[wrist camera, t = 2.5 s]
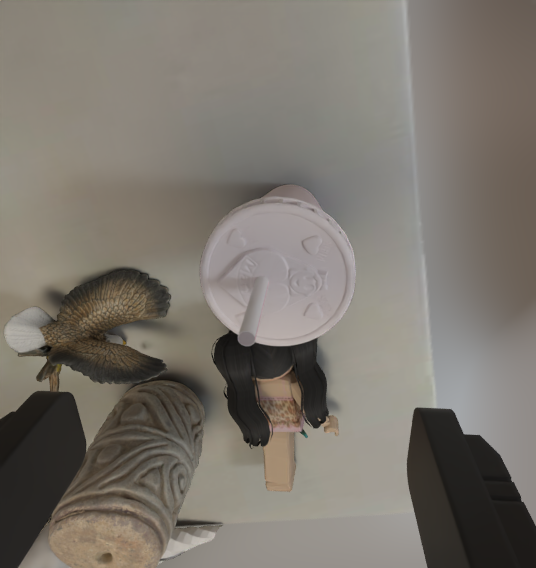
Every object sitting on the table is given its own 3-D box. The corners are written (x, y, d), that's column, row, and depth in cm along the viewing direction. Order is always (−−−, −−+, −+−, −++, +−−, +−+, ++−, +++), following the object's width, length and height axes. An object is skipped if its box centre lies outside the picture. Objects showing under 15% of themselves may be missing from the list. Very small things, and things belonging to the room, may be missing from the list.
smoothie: (232, 163, 25) (145, 243, 12) (344, 157, 24) (374, 236, 11) (242, 265, 28) (179, 417, 15) (343, 263, 27) (367, 421, 14)
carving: (230, 420, 33) (188, 583, 22) (149, 444, 35) (74, 604, 24) (191, 356, 31) (124, 501, 20) (107, 385, 33) (4, 531, 22)
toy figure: (350, 454, 34) (316, 288, 27) (345, 531, 28) (303, 348, 22) (263, 453, 36) (213, 299, 29) (244, 524, 30) (178, 355, 24)
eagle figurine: (99, 398, 32) (192, 374, 28) (2, 420, 26) (105, 393, 22) (83, 300, 33) (170, 264, 29) (-12, 297, 27) (82, 252, 23)
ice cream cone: (231, 594, 34) (-3, 656, 32) (233, 549, 42) (44, 597, 40) (214, 495, 35) (-14, 550, 33) (218, 469, 43) (34, 513, 41)
